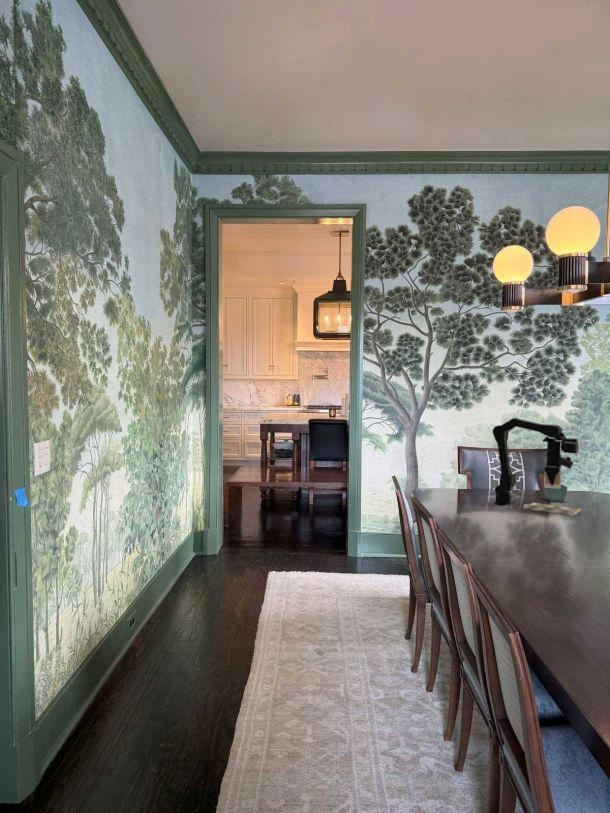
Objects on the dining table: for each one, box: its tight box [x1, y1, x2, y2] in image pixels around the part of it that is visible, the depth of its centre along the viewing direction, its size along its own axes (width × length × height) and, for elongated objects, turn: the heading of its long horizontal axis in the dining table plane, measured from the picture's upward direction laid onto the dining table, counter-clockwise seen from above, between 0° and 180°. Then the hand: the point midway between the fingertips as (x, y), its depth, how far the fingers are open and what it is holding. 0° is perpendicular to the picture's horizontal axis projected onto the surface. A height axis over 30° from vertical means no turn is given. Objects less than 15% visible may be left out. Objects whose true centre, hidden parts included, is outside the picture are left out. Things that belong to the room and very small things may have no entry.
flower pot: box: [542, 483, 568, 503], centre depth 278 cm, size 9×9×9 cm
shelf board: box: [523, 502, 582, 517], centre depth 260 cm, size 22×16×3 cm
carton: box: [543, 470, 562, 489], centre depth 258 cm, size 4×7×8 cm, turn 63°
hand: (552, 484), depth 258 cm, fingers closed on carton, 4 cm apart
